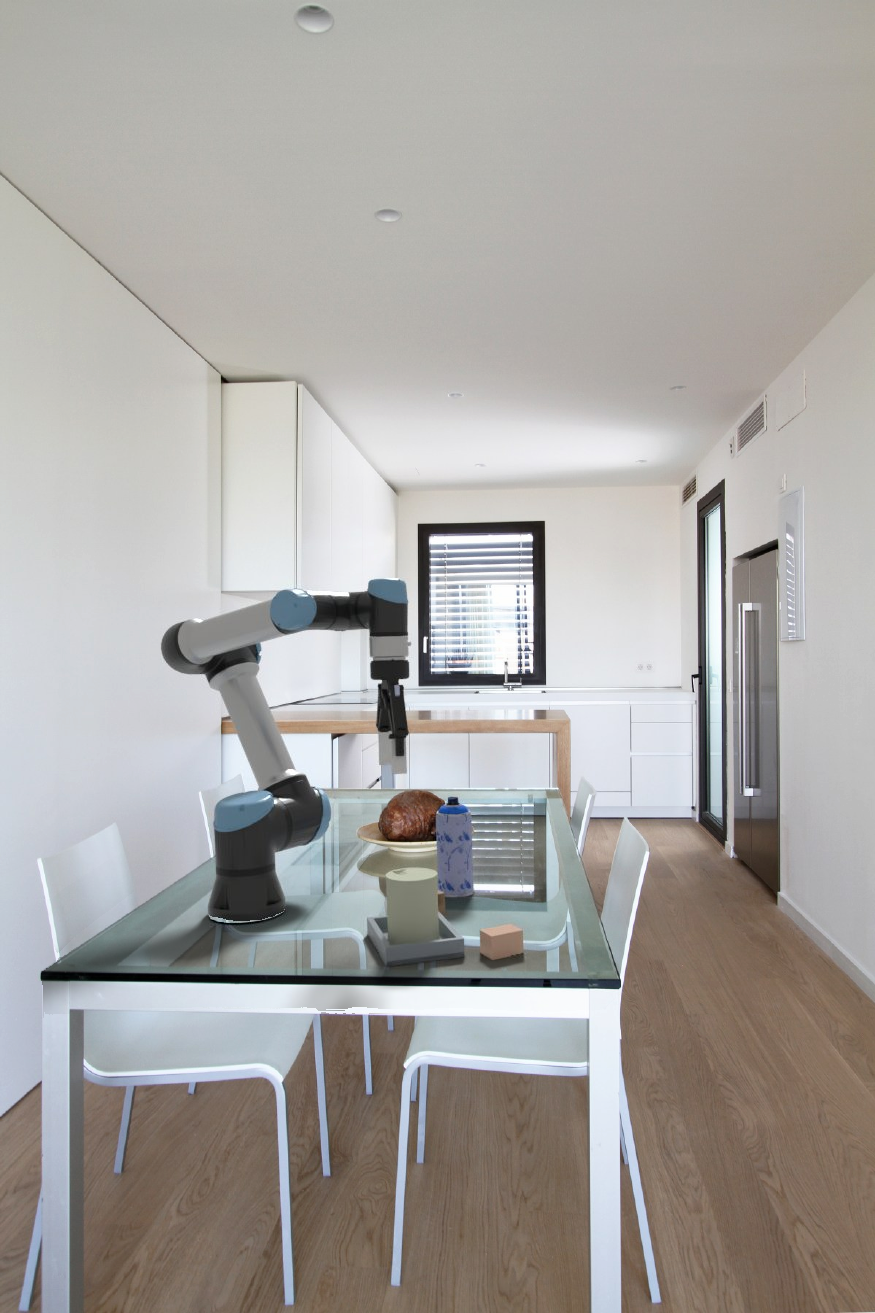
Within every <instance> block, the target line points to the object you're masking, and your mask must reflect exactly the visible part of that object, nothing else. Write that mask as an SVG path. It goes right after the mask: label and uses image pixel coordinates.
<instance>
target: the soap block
mask: <svg viewBox="0 0 875 1313" xmlns="http://www.w3.org/2000/svg"><path fill="white" fill-rule="evenodd" d="M479 946H480V948H479V951H480V954H482V955H484V956H485V957H486V958H488V959H490V960H491V961H495V960H499V959H503V958H509V957H512V956H511V955H514V956H516V955H515V954H517V953H519V952H524V930H523V929H521V928H519V927H518V926H515V925H513V924H512V923H507V924H503V925H497V926H492V927H488V928H482V929H479ZM524 953H525V952H524Z"/></svg>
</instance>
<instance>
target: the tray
mask: <svg viewBox="0 0 875 1313" xmlns="http://www.w3.org/2000/svg"><path fill="white" fill-rule="evenodd" d="M445 918H446V916H445V917H444V916H443V915H442V914H441V913H440V912H439V911H438V920H439V935H440V940H431V941H423V942H415V943H407V944H399V945H390V944H389V942H388V941H387V938H388V922H387V914H386V915H378V916H369V917H366V924H367V925H366V926H367V928H366V929H367V936H368V937H369V940H370V941H371V943H372V942H373V943H372V945H373V946H374V945H375V946H374V948H375V947H376V948H375V950H376V949H377V950H378V951H377V950H376V951H377V953H378V952H379V953H378V955H379V957H380V958H381V960H382V961H383V963H384V965H385V967H387V968H388V967H394V966H402V965H410V964H418V963H419V964H420V963H426V962H434V961H443V960H449V959H451V960H452V959H456V958H464V957H466V956H465V939H464V937H463V935H461V933H459V931H458V930H457V929H456V928H455V927H454V925H452V923H450V921H448V919H445Z"/></svg>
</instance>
